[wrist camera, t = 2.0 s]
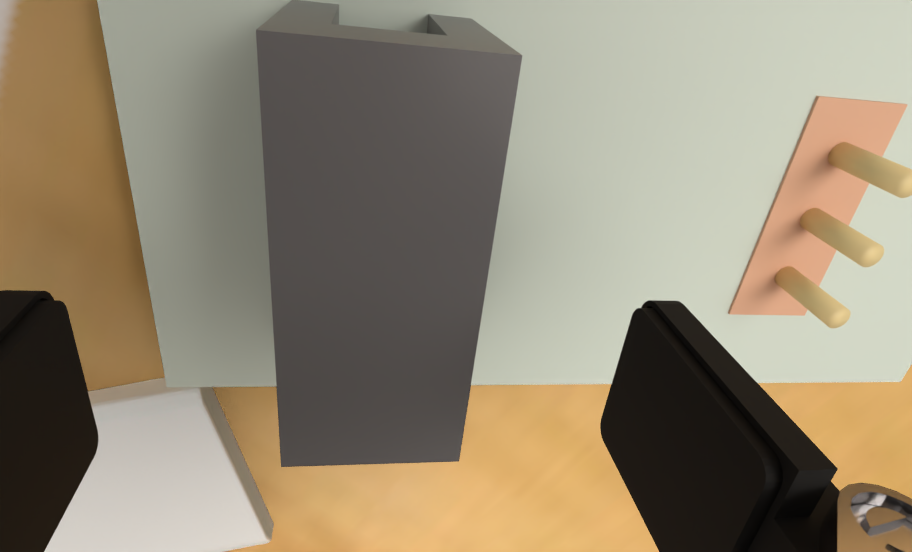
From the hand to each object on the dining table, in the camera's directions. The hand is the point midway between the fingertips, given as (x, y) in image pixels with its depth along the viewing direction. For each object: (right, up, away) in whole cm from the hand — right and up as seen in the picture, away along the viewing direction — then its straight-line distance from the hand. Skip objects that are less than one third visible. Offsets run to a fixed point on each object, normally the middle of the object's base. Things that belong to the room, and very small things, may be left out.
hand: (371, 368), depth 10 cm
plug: (-1, +4, +5) cm, 6 cm away
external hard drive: (-13, -6, +12) cm, 18 cm away
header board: (+6, +4, +8) cm, 11 cm away
